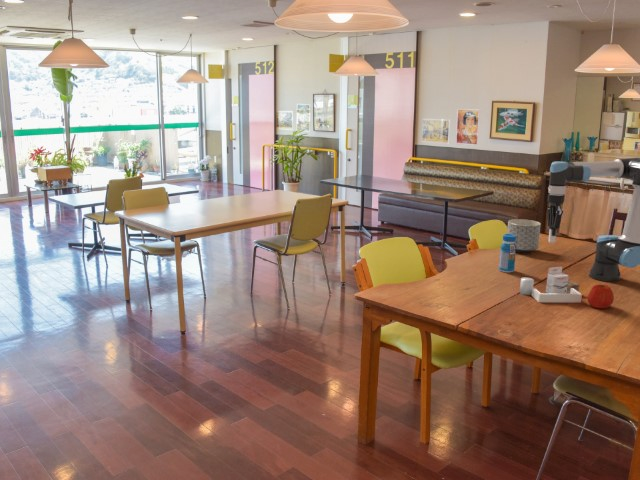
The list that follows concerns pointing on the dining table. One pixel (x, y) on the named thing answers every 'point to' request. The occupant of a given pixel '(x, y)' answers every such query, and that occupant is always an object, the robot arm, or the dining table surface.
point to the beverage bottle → (507, 253)
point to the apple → (600, 296)
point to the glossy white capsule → (526, 286)
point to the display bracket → (557, 296)
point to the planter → (525, 234)
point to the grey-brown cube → (572, 286)
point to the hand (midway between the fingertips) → (551, 241)
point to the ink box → (556, 281)
